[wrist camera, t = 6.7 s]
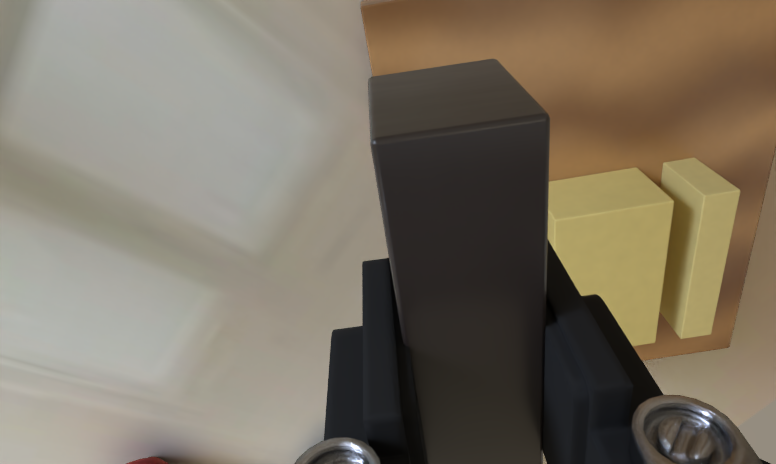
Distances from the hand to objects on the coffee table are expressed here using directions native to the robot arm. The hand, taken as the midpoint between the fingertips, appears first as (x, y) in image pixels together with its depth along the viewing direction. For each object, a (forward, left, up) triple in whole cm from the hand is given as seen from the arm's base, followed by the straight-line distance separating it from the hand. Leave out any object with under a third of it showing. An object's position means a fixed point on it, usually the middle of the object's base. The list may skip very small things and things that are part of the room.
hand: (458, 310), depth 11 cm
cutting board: (+7, +8, -15) cm, 19 cm away
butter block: (+9, +8, -14) cm, 18 cm away
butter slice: (+9, +12, -14) cm, 20 cm away
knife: (+5, 0, -1) cm, 5 cm away
